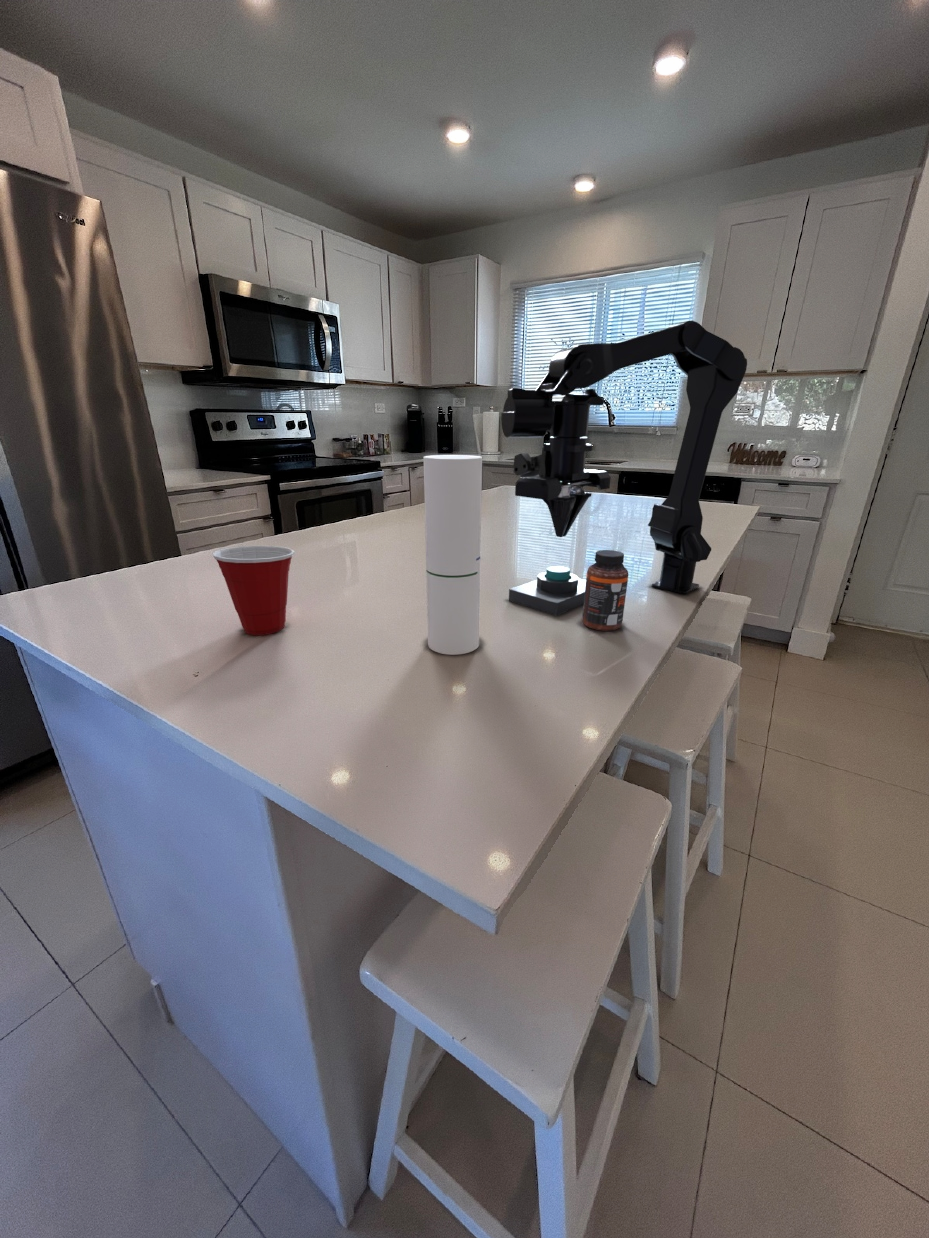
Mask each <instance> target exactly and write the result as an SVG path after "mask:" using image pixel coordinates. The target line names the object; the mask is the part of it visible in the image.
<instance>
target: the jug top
mask: <svg viewBox="0 0 929 1238" xmlns="http://www.w3.org/2000/svg"><path fill="white" fill-rule="evenodd" d="M585 586H586V579H585V578H580V577H579V576H578V575H577V574H575V573H573V572H570V579H569V580H563V581H557V580H550V579H547V578H546V571H542V572H540V573H538V574H537V576H536V579H534V580H531V581H529V582H526V583H523V584H520V585H517V586H514V587H511V588H509V589H508V602H511V603H514V604H518V605H521V606H524V607H527V608H530V609H533V610H537V611H539V612H543V613H546V614H550V615H553V616H556V617H557V616H559V615H561V614H564V613H567V612H569V611H571V610H573V609H575V608H578V607H581V606H583V605H584V596H585Z"/></svg>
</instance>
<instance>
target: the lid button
mask: <svg viewBox="0 0 929 1238" xmlns="http://www.w3.org/2000/svg"><path fill="white" fill-rule="evenodd" d="M545 572H546V578H547V579H550V580H557V581H563V580H569V579H570V573H571V569H570V568H569V567H567V566H563V565H552V566H551V565H550V566H548V567H546V571H545Z"/></svg>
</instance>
